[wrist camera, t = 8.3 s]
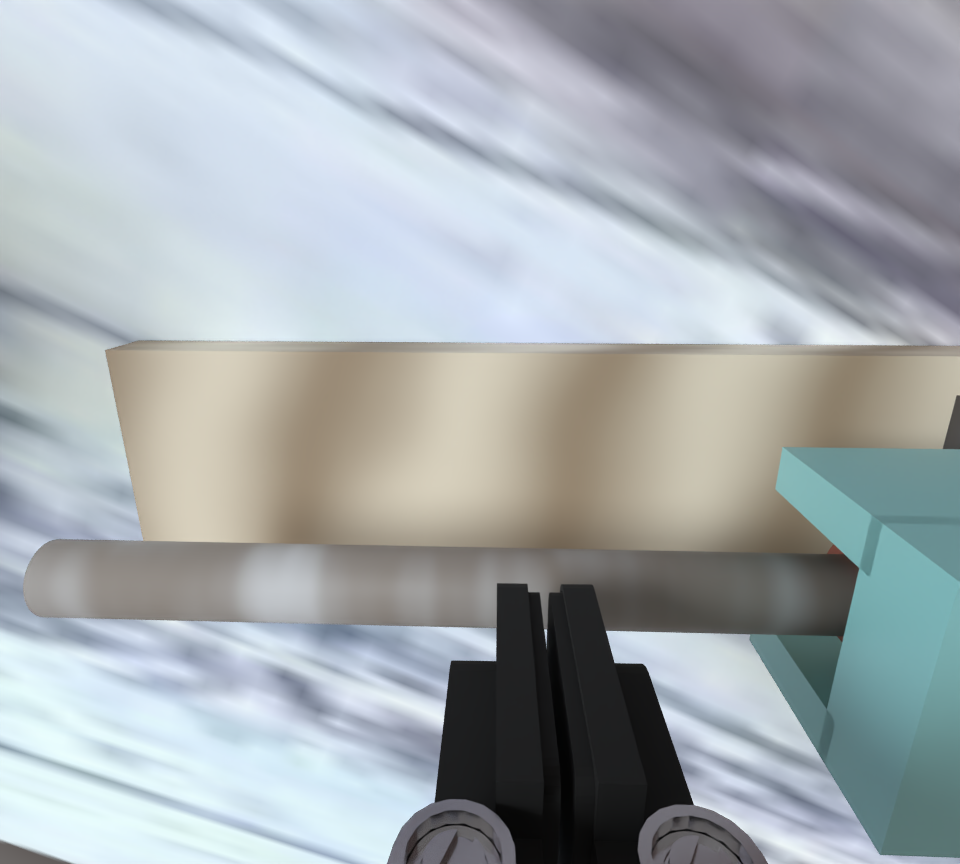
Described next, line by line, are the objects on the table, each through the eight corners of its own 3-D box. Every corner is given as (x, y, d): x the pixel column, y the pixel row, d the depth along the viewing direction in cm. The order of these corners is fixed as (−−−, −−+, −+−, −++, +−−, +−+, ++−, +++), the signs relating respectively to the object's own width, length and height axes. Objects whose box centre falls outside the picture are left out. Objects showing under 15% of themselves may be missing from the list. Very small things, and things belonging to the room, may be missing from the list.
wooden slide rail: (1077, 346, 16) (1653, 459, 8) (996, 600, 19) (1373, 880, 11) (138, 340, 17) (-191, 435, 9) (182, 583, 20) (-43, 827, 11)
